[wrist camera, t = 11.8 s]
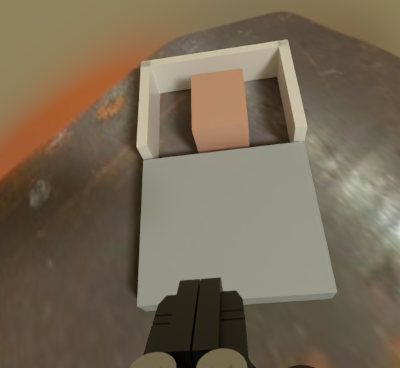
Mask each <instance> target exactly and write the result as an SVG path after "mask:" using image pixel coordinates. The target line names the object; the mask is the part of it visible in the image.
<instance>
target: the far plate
mask: <svg viewBox="0 0 400 368" xmlns="http://www.w3.org/2000/svg"><path fill="white" fill-rule="evenodd" d="M218 277H221V280H222V288H223V291H235V290H236V291H237V292H238V293H239V295H240V296H241V297H242V299H243V305H244V304H258V303H273V302H288V301H303V300H318V299H331V298H332V297H333V296H334V295H335V294H336V293H337V290H336V285H335V280H334V276H333V271H332V267H331V262H330V257H329V253H328V248H327V244H326V239H325V234H324V230H323V225H322V221H321V216H320V211H319V207H318V202H317V198H316V193H315V189H314V184H313V179H312V175H311V170H310V166H309V161H308V156H307V152H306V147H305V143H304V141H301V142H292V143H284V144H276V145H267V146H259V147H250V148H242V149H233V150H225V151H216V152H208V153H199V154H191V155H183V156H174V157H166V158H157V159H149V160H143V179H142V202H141V225H140V249H139V272H138V295H137V306H138V307H139V308H141V309H143V310H145V311H154V310H157V307H158V304H159V303H160V302H161V301H162V300H163V299H164V298H165V297H166V295H177V290H178V286H179V282H180V280H193V279H200V281H201V279H205V278H218Z"/></svg>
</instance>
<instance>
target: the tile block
mask: <svg viewBox="0 0 400 368" xmlns="http://www.w3.org/2000/svg"><path fill="white" fill-rule="evenodd" d="M191 107H192V132H193V136H194V139H195V143H196V146H197V149H198V153H208V152H216V151H225V150H233V149H242V148H250V146H249V128H248V117H247V108H246V98H245V89H244V80H243V71H242V68H240V69H232V70H225V71H217V72H210V73H202V74H195V75H191Z"/></svg>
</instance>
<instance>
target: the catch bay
mask: <svg viewBox="0 0 400 368" xmlns="http://www.w3.org/2000/svg"><path fill="white" fill-rule="evenodd" d="M240 68H242V71H243V80H244V82H245V81H252V80H259V79H266V78H273V77H277V79H278V84H279V89H280V94H281V99H282V104H283V110H284V115H285V120H286V125H287V130H288V135H289V140H290V143H292V142H301V141H305V136H306V130H307V123H306V118H305V114H304V109H303V105H302V101H301V96H300V92H299V88H298V83H297V79H296V74H295V70H294V66H293V61H292V57H291V52H290V48H289V44H288V40H281V41H275V42H268V43H262V44H255V45H248V46H242V47H235V48H229V49H222V50H216V51H209V52H202V53H196V54H189V55H183V56H176V57H169V58H163V59H156V60H150V61H143V62H141V72H140V90H139V108H138V127H137V145H136V147H137V149H138V151H139V153H140V154H141V156H142V158H143V160H149V159H157V158H159V118H160V93H166V92H173V91H180V90H187V89H191V75H195V74H202V73H210V72H217V71H225V70H232V69H240Z"/></svg>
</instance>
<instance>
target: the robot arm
mask: <svg viewBox="0 0 400 368" xmlns="http://www.w3.org/2000/svg"><path fill="white" fill-rule="evenodd" d="M130 368H256V367H255V366H254V365H253V364H252V363H251V362H250V360H249V358H248V345H247V333H246V324H245V315H244V306H243V299H242V297H241V296H240V295H239V293H238V292H237V291H236V290H235V291H223V288H222V280H221V277H218V278H205V279H201V281H200V279H193V280H180V282H179V286H178V290H177V295H166V297H165V298H164V299H163V300H162V301H161V302H160V303H159V304H158V307H157V310H156V314H155V317H154V321H153V326H152V327H151V331H150V334H149V338H148V341H147V344H146V348H145V351H144V355H143V356H141V357H140V358H138V359H137V360H136V361H134V363H133V364H132V365H131V366H130ZM289 368H314V367H311V366H306V365H297V366H292V367H289Z"/></svg>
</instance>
